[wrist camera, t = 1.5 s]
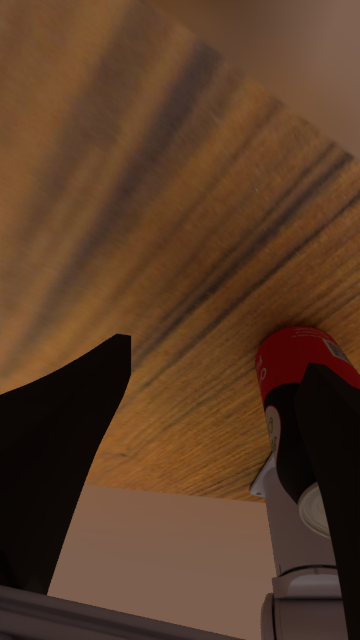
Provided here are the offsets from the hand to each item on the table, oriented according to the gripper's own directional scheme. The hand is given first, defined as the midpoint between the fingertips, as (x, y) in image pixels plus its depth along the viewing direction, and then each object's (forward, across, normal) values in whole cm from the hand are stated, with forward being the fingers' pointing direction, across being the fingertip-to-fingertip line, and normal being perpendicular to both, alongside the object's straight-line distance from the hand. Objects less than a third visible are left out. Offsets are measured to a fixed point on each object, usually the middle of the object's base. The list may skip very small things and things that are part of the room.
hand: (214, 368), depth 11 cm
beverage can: (+10, -7, +5) cm, 14 cm away
